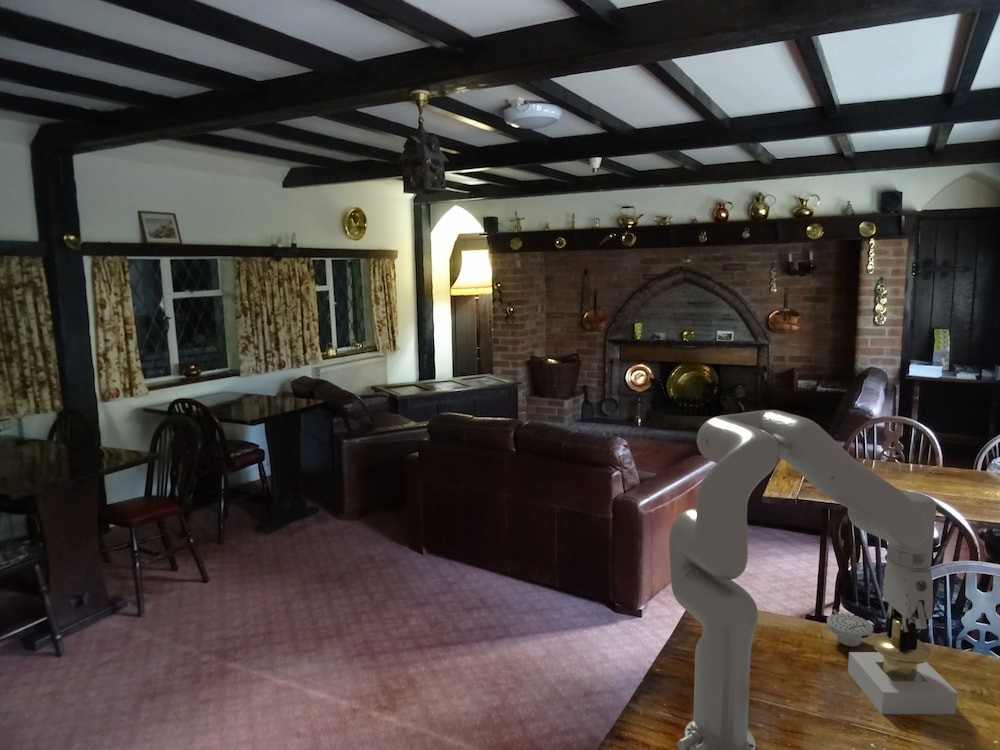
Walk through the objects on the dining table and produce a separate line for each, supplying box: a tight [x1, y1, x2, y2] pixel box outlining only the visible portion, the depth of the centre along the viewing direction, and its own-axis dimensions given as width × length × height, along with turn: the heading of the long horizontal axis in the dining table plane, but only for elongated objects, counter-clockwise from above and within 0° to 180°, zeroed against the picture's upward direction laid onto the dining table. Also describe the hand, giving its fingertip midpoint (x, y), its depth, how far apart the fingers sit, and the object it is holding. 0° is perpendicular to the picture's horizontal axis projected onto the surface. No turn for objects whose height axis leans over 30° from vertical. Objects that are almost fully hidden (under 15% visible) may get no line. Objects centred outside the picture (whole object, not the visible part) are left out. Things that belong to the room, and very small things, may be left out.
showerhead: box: [826, 609, 874, 647], centre depth 158 cm, size 9×7×10 cm
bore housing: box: [847, 651, 959, 715], centre depth 140 cm, size 14×14×6 cm
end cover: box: [872, 617, 932, 679], centre depth 138 cm, size 10×10×10 cm
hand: (901, 642), depth 138 cm, fingers closed on end cover, 3 cm apart
